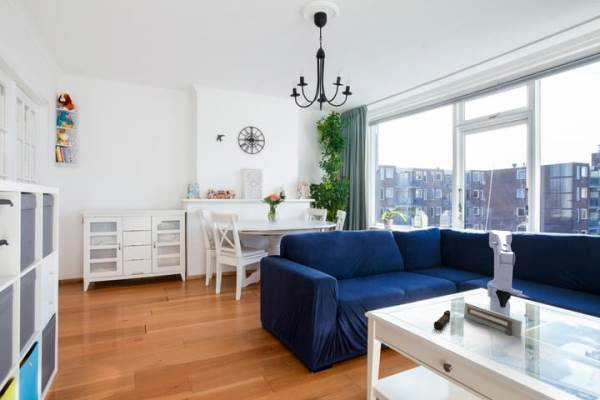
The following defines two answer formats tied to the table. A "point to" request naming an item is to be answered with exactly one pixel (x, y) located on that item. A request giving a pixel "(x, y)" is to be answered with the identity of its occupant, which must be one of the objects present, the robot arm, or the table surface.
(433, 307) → the table surface
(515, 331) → the wall panel
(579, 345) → the table surface
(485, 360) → the table surface
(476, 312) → the grooved wooden rail
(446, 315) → the dark brown bar
